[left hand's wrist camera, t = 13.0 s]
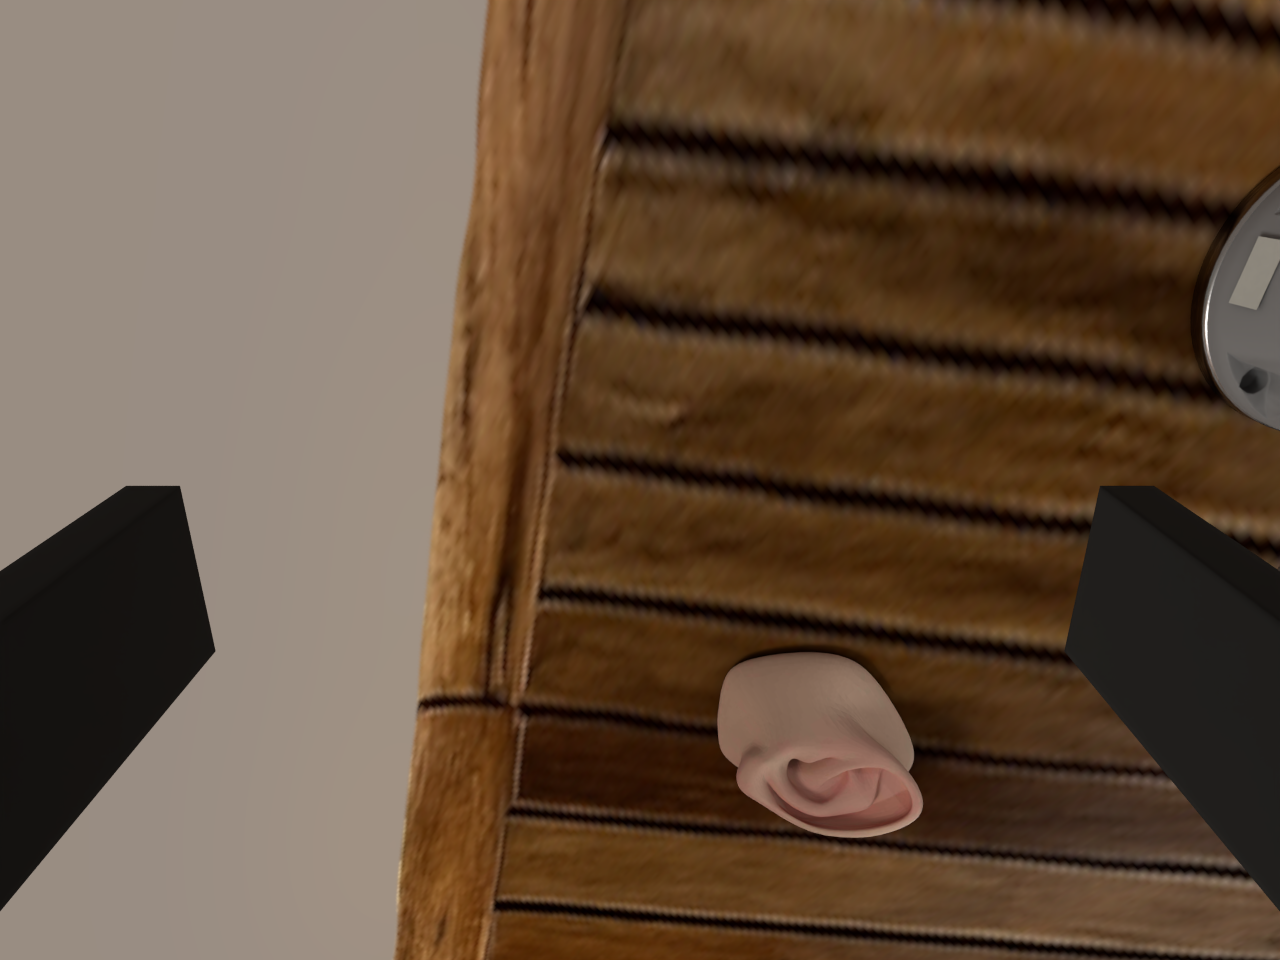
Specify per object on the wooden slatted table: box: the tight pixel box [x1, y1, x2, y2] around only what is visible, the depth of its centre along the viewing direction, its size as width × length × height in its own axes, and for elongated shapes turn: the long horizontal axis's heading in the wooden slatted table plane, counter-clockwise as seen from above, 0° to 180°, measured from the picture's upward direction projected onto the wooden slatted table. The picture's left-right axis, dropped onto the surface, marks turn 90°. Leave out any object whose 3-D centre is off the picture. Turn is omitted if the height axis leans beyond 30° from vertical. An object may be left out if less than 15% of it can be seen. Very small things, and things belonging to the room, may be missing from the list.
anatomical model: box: [717, 652, 923, 837], centre depth 53 cm, size 13×4×12 cm
